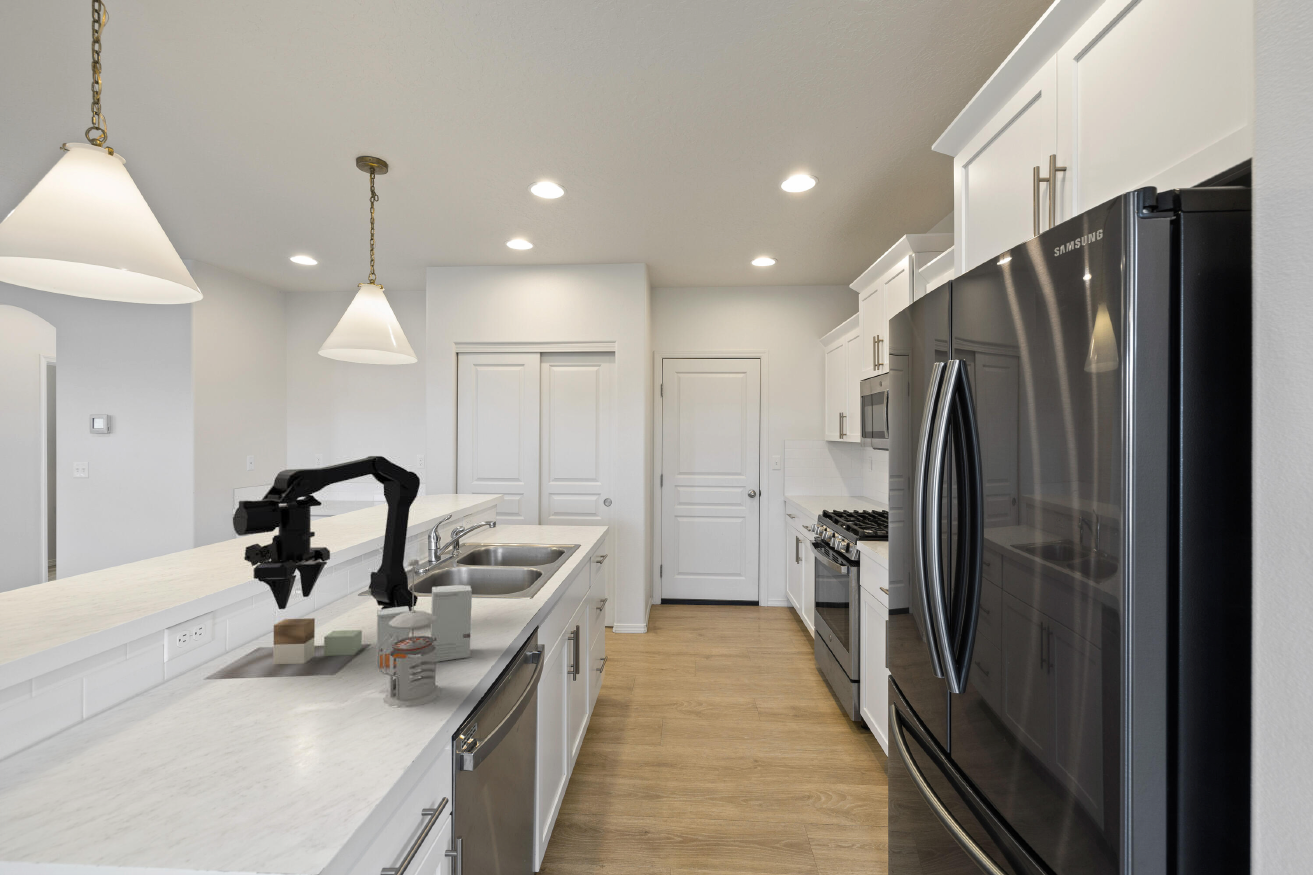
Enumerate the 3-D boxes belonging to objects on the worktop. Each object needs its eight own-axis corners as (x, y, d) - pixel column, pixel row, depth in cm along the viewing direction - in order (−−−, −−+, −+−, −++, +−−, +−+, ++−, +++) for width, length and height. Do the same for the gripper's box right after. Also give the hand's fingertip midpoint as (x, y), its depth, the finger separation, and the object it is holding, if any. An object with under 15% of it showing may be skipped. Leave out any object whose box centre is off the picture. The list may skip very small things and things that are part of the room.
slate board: (371, 649, 126) (371, 643, 126) (334, 680, 109) (334, 674, 109) (258, 652, 124) (258, 647, 124) (203, 685, 107) (203, 679, 107)
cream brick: (314, 655, 119) (314, 637, 119) (304, 663, 115) (304, 643, 115) (284, 656, 118) (284, 638, 118) (273, 664, 114) (273, 644, 114)
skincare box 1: (376, 674, 112) (376, 614, 112) (376, 667, 116) (376, 609, 116) (409, 669, 115) (409, 610, 115) (408, 661, 119) (408, 605, 119)
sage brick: (361, 648, 124) (361, 629, 124) (353, 654, 120) (353, 635, 120) (333, 648, 123) (333, 630, 123) (324, 655, 119) (324, 636, 119)
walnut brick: (314, 637, 119) (314, 618, 119) (304, 643, 115) (304, 624, 115) (284, 637, 118) (285, 619, 119) (273, 644, 114) (273, 624, 115)
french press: (452, 690, 105) (453, 556, 105) (398, 716, 95) (399, 568, 95) (417, 679, 110) (417, 552, 110) (361, 703, 99) (362, 563, 100)
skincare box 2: (430, 663, 118) (430, 592, 118) (429, 653, 123) (430, 586, 124) (472, 657, 121) (472, 588, 121) (469, 648, 127) (469, 582, 127)
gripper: (279, 523, 127) (279, 592, 127) (224, 536, 108) (224, 617, 108) (331, 522, 128) (331, 590, 128) (285, 535, 109) (285, 615, 109)
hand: (294, 602), depth 118 cm, fingers open, 9 cm apart
